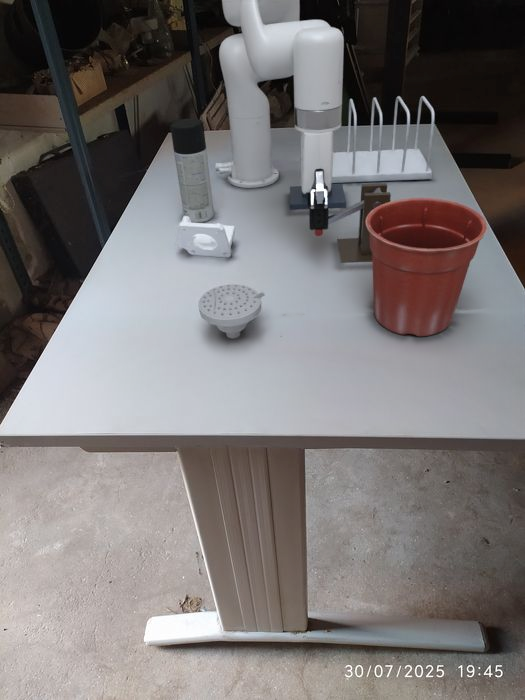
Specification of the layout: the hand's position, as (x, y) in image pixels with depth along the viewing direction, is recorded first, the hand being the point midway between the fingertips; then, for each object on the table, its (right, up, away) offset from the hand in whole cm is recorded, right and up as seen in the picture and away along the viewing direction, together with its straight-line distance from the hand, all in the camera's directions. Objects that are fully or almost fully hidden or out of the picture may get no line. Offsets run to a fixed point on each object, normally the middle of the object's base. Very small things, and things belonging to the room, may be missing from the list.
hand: (317, 217), depth 97 cm
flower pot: (+14, -18, -11) cm, 26 cm away
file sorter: (+18, +21, +38) cm, 47 cm away
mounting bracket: (-21, -5, +9) cm, 24 cm away
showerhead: (-14, -22, -12) cm, 29 cm away
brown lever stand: (+11, -6, +5) cm, 13 cm away
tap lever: (+6, 0, 0) cm, 6 cm away
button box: (+2, +9, +24) cm, 26 cm away
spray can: (-24, +5, +22) cm, 33 cm away
